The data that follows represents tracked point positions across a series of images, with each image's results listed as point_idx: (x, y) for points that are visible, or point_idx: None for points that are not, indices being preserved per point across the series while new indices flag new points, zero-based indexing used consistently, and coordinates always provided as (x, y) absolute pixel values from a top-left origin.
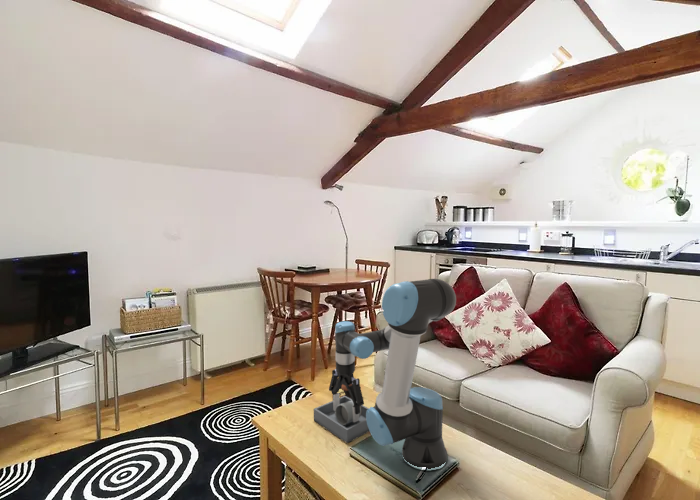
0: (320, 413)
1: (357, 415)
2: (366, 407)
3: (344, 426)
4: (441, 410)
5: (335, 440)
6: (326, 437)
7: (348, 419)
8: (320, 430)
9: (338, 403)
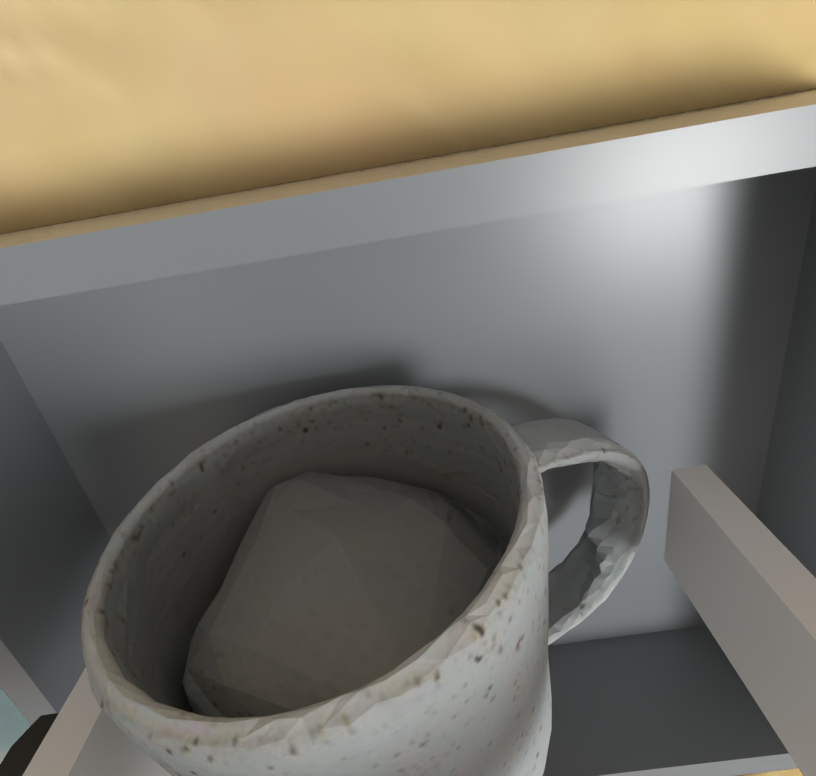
0: (768, 110)
1: None
2: None
3: None
4: None
5: (83, 115)
6: (231, 11)
7: (129, 518)
8: (491, 29)
9: (724, 627)
